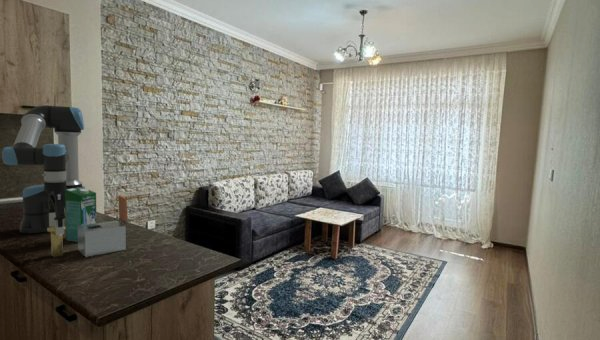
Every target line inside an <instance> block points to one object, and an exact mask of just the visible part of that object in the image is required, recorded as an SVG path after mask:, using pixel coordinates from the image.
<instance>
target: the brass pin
mask: <svg viewBox="0 0 600 340" xmlns="http://www.w3.org/2000/svg"><path fill="white" fill-rule="evenodd" d="M64 231H66V224H64ZM46 232H47V233H50V244H51V245H50V249H51V255H50V256H51V257H52V256H53V258H55V257H56V258H57V257H62V256H63V255H64V240H63V239H64V237H63V236H64V234H62V235H56V225H55V226H50V227H48V228H47V231H46Z"/></svg>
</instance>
